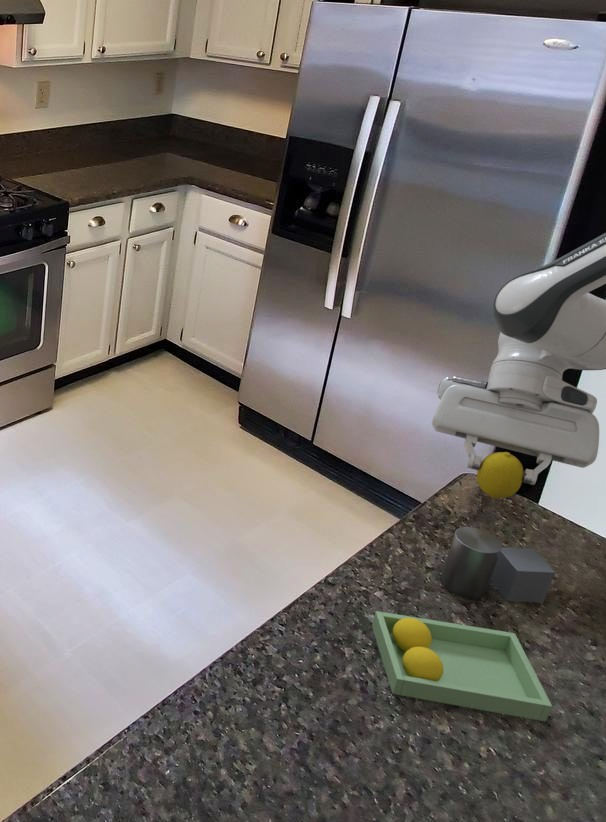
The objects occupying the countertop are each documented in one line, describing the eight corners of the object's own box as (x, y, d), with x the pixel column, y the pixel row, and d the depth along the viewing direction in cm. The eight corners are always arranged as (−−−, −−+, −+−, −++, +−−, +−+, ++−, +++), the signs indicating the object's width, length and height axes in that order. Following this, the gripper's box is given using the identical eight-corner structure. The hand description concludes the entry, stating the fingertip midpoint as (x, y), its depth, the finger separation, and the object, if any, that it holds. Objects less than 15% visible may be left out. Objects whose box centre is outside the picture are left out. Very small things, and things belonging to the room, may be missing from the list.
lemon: (470, 482, 123) (484, 438, 119) (513, 493, 120) (529, 448, 117) (470, 502, 118) (485, 456, 115) (515, 513, 116) (531, 467, 112)
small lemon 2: (432, 667, 101) (441, 642, 100) (443, 695, 98) (452, 669, 96) (394, 661, 102) (402, 636, 101) (403, 688, 99) (412, 662, 97)
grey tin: (476, 578, 117) (493, 529, 113) (489, 605, 112) (508, 555, 108) (434, 572, 118) (449, 523, 114) (445, 599, 113) (462, 549, 109)
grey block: (521, 580, 116) (534, 548, 114) (542, 605, 112) (555, 572, 109) (485, 579, 117) (497, 546, 114) (505, 604, 112) (517, 570, 110)
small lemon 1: (421, 638, 106) (429, 613, 104) (431, 664, 102) (440, 638, 100) (385, 632, 107) (393, 607, 105) (393, 657, 103) (401, 632, 101)
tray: (508, 650, 105) (515, 633, 103) (544, 724, 94) (552, 706, 93) (370, 627, 108) (375, 610, 107) (391, 697, 98) (397, 678, 97)
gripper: (444, 366, 123) (422, 448, 120) (611, 401, 112) (591, 493, 109) (440, 379, 128) (419, 459, 125) (599, 414, 117) (580, 502, 114)
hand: (500, 475), depth 117 cm, fingers closed on lemon, 5 cm apart
